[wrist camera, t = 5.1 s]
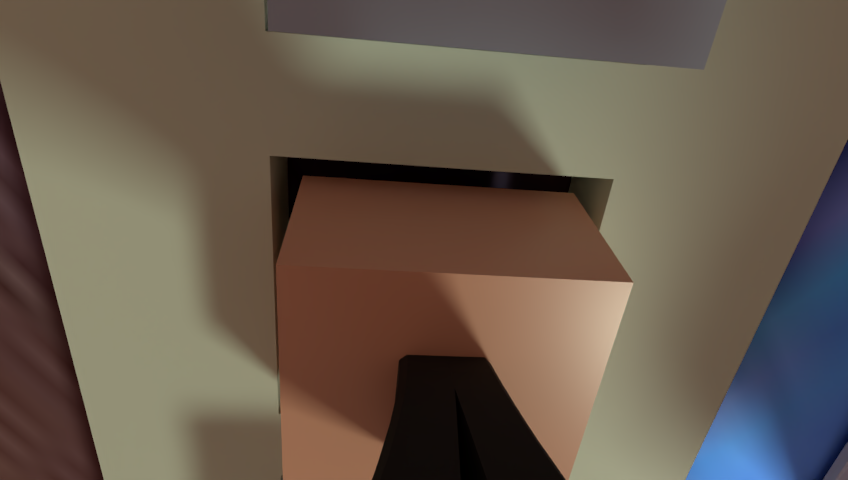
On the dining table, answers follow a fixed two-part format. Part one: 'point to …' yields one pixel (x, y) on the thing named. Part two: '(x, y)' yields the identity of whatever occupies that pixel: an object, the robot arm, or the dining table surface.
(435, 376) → the robot arm
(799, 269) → the dining table surface
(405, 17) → the key slate
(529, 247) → the key terracotta
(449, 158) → the panel
